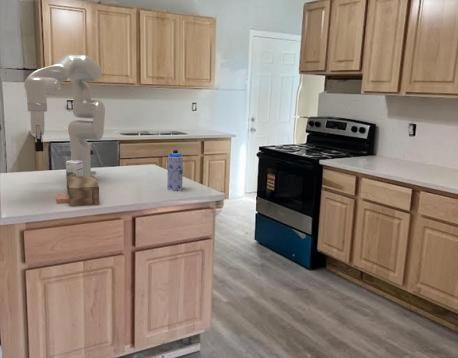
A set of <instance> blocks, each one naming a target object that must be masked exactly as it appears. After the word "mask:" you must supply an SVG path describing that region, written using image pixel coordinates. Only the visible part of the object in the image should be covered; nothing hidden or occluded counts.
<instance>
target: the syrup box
mask: <svg viewBox="0 0 458 358" xmlns="http://www.w3.org/2000/svg"><path fill="white" fill-rule="evenodd" d="M65 172H66V173H65V175H66V178H65V179H67V177H74V176H83V161H79V160H71V159H69V160H66V161H65ZM66 191H67V192H68V189H67V188H66Z"/></svg>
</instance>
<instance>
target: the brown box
mask: <svg viewBox="0 0 458 358" xmlns="http://www.w3.org/2000/svg"><path fill="white" fill-rule="evenodd" d="M67 189H68V191H67V193H69V203H68V204H69V207H81V206H98V205H100V186H99V184H98V182H97V180H96V177H95V175H92V176H74V177H67V178H66V190H67Z"/></svg>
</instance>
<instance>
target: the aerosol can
mask: <svg viewBox="0 0 458 358" xmlns="http://www.w3.org/2000/svg"><path fill="white" fill-rule="evenodd" d="M183 161H184V157H183V155H182V154H181V153H179V150H178V149H173V151H172V152H171V153H169V154H168V156H167V186H166V187H167V188H166V189H168V190H167V191H170V190H172V191H171V192H178V191H177V190H181V191H183V190H184V189H183V176H184V175H183V174H184V173H183V172H184V171H183V170H184V168H183V167H184V166H183V165H184V162H183ZM182 189H183V190H182ZM173 190H174V191H173Z"/></svg>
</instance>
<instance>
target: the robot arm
mask: <svg viewBox="0 0 458 358" xmlns="http://www.w3.org/2000/svg"><path fill="white" fill-rule="evenodd" d="M101 77H102V69H101V66H100V65H99V64H98V63H97V62H96V61H95V60H94V59H93V58H91V57H90V56H89V55H86V54H73V53H71V54H70V53H68V54H64V55H63V56H62V57H60V58H59V59H58V60H57V61H56V62H55V63H54V64H52V65H48V66H45V67H43V68H40V69H37V70H34V71H33V72H31V73H30V74H29V75H28V76H27V77H26V78H25V80H24V89H25V91H26V103H27V105H26V106H27V112H29V115H30V116H29V117H30V132H31V136H32V137H33V136H34V139H35V140H34V146H35V147H34V148H35V149H34V150H35V152H44V141H43V136H44V134H45V112H46V113H47V112H48V105H47V104H48V103H47V102H48V101H47V96H55V95H57V94H58V93H59V92H60V91H61V84H60V83H64V82H66V81H67V80H68V79H69V80H70V82H71V85H72V87H73V101H72V102H73V103H72V114H73V116H74V117H76V118H80V119H81V120H78V119H77V120H72V121H71V122H69V124H68V126H67V131H68V136H69V143H70V160H79V161H83V176H95V175H97V171H96V170H93V171H92V170H91V168H92V167H91V166H92V165H91V147H90V144H89V142H88V141H87V140H91V141H99V140H101V139H102V138H103V136H104V129H105V116H106V108H105V104H104V103H103V101H101V100H96V99H92V89H91V87H90V85H89V84H88V82H98V81H99V80H100V79H101ZM82 119H92V120H82Z"/></svg>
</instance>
